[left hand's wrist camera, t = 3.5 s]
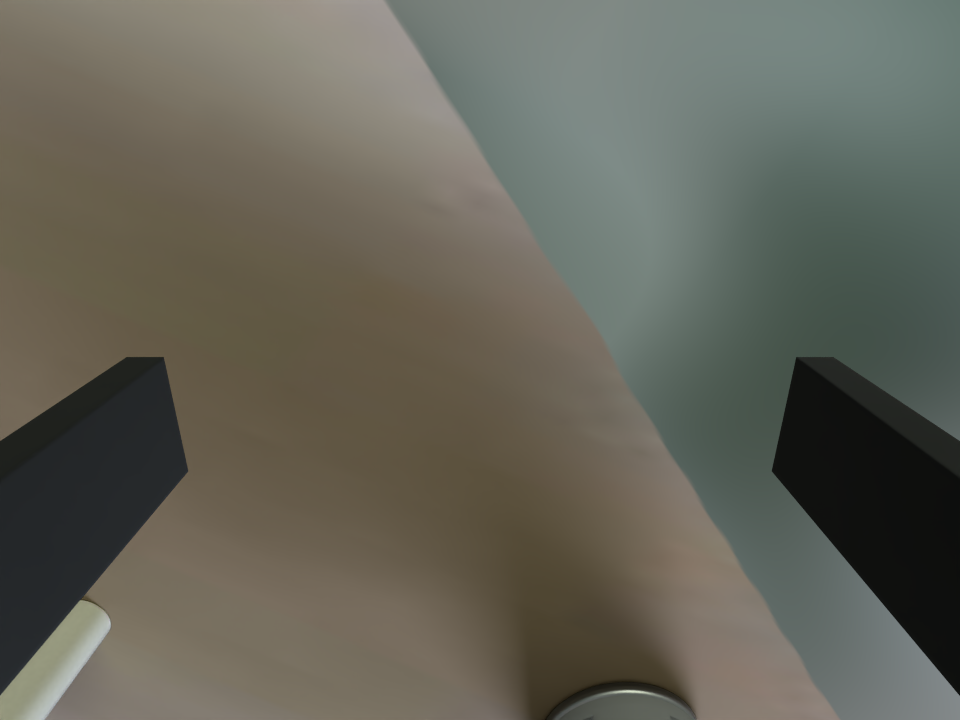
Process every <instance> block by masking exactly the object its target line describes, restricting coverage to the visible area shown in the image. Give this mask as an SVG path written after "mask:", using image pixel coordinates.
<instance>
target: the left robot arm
mask: <svg viewBox="0 0 960 720" xmlns="http://www.w3.org/2000/svg"><path fill="white" fill-rule="evenodd" d="M187 472H188V468H187V463H186V459H185V454H184V449H183V445H182V440H181V436H180V431H179V426H178V422H177V417H176V412H175V408H174V403H173V398H172V394H171V389H170V384H169V380H168V375H167V371H166V366H165V361H164V357H126V358H125V359H123V360H122V361H120V362H119V363H117V364H116V365H114V366H113V367H111V368H110V369H108V370H107V371H105V372H104V373H102V374H101V375H99V376H98V377H96V378H95V379H93V380H92V381H90V382H89V383H87V384H86V385H84V386H83V387H81V388H80V389H78V390H77V391H75V392H74V393H72V394H71V395H69V396H68V397H66V398H65V399H63V400H62V401H60V402H59V403H57V404H55V405H54V406H52V407H51V408H49V409H48V410H46V411H45V412H43V413H42V414H40V415H39V416H37V417H36V418H34V419H33V420H31V421H30V422H28V423H27V424H25V425H24V426H22V427H21V428H19V429H18V430H16V431H15V432H13V433H12V434H10V435H9V436H7V437H6V438H4V439H3V440H1V441H0V695H1V694H2V693H3V692H4V691H5V689H6V688H7V687H8V686H9V685H10V683H11V682H12V681H13V680H14V679H15V677H16V676H17V675H18V674H19V673H20V671H21V670H22V669H23V668H24V667H25V665H26V664H27V663H28V662H29V661H30V659H31V658H32V657H33V656H34V655H35V654H36V652H37V651H38V650H39V649H40V648H41V646H42V645H43V644H44V643H45V642H46V640H47V639H48V638H49V637H50V636H51V634H52V633H53V632H54V631H55V630H56V628H57V627H58V626H59V625H60V624H61V622H62V621H63V620H64V619H65V618H66V616H67V615H68V614H69V613H70V612H71V611H72V609H73V608H74V607H75V606H76V605H77V603H78V602H79V601H80V600H81V599H82V597H83V596H84V595H85V594H86V593H87V591H88V590H89V589H90V588H91V587H92V585H93V584H94V583H95V582H96V581H97V579H98V578H99V577H100V576H101V575H102V573H103V572H104V571H105V570H106V569H107V568H108V566H109V565H110V564H111V563H112V562H113V560H114V559H115V558H116V557H117V556H118V554H119V553H120V552H121V551H122V550H123V548H124V547H125V546H126V545H127V544H128V542H129V541H130V540H131V539H132V538H133V536H134V535H135V534H136V533H137V532H138V530H139V529H140V528H141V527H142V526H143V525H144V523H145V522H146V521H147V520H148V519H149V517H150V516H151V515H152V514H153V513H154V511H155V510H156V509H157V508H158V507H159V505H160V504H161V503H162V502H163V501H164V499H165V498H166V497H167V496H168V495H169V493H170V492H171V491H172V490H173V489H174V488H175V486H176V485H177V484H178V483H179V482H180V480H181V479H182V478H183V477H184V476H185V474H186V473H187ZM772 472H773V473H774V474H775V476H776V477H777V478H778V479H779V480H780V481H781V483H782V484H783V485H784V486H785V487H786V489H787V490H788V491H789V492H790V493H791V495H792V496H793V497H794V498H795V499H796V501H797V502H798V503H799V504H800V505H801V507H802V508H803V509H804V510H805V511H806V513H807V514H808V515H809V516H810V517H811V519H812V520H813V521H814V522H815V523H816V525H817V526H818V527H819V528H820V529H821V530H822V532H823V533H824V534H825V535H826V536H827V538H828V539H829V540H830V541H831V542H832V544H833V545H834V546H835V547H836V548H837V550H838V551H839V552H840V553H841V554H842V556H843V557H844V558H845V559H846V560H847V562H848V563H849V564H850V565H851V566H852V568H853V569H854V570H855V571H856V572H857V573H858V575H859V576H860V577H861V578H862V579H863V581H864V582H865V583H866V584H867V585H868V587H869V588H870V589H871V590H872V591H873V593H874V594H875V595H876V596H877V597H878V599H879V600H880V601H881V602H882V603H883V605H884V606H885V607H886V608H887V609H888V610H889V612H890V613H891V614H892V615H893V616H894V618H895V619H896V620H897V621H898V622H899V624H900V625H901V626H902V627H903V628H904V629H905V631H906V632H907V633H908V634H909V636H910V637H911V638H912V639H913V640H914V641H915V643H916V644H917V645H918V646H919V648H920V649H921V650H922V651H923V652H924V653H925V655H926V656H927V657H928V658H929V659H930V661H931V662H932V663H933V664H934V665H935V667H936V668H937V669H938V670H939V671H940V673H941V674H942V675H943V676H944V677H945V679H946V680H947V681H948V682H949V683H950V685H951V686H952V687H953V688H954V689H955V691H956V692H957V693H958V694H959V695H960V441H959V440H957V439H956V438H954V437H953V436H951V435H950V434H948V433H947V432H945V431H944V430H942V429H941V428H939V427H938V426H936V425H935V424H933V423H932V422H930V421H929V420H927V419H926V418H924V417H923V416H921V415H920V414H918V413H917V412H915V411H914V410H912V409H911V408H909V407H908V406H906V405H904V404H903V403H901V402H900V401H898V400H897V399H895V398H894V397H892V396H891V395H889V394H888V393H886V392H885V391H883V390H882V389H880V388H879V387H877V386H876V385H874V384H873V383H871V382H870V381H868V380H867V379H865V378H864V377H862V376H861V375H859V374H858V373H856V372H855V371H853V370H852V369H850V368H849V367H847V366H846V365H844V364H843V363H841V362H840V361H838V360H837V359H835V358H834V357H796V361H795V366H794V371H793V375H792V380H791V384H790V389H789V394H788V398H787V403H786V408H785V412H784V417H783V422H782V426H781V431H780V436H779V440H778V445H777V449H776V454H775V459H774V463H773V468H772ZM546 720H697V719H696V717H695V715H694V713H693V711H692V710H691V708H690V707H689V706H688V705H687V704H686V703H685V702H684V701H683V700H682V699H681V698H679V697H678V696H676V695H675V694H673V693H671V692H669V691H667V690H665V689H662V688H659V687H656V686H653V685H648V684H643V683H634V682H618V683H609V684H603V685H599V686H595V687H592V688H589V689H586V690H583V691H581V692H579V693H577V694H575V695H573V696H571V697H569V698H568V699H566V700H565V701H563V702H562V703H561V704H559V705H558V706H557V707H556V708H555V709H554V710H553V711H552V712H551V713H550V715H549V716H548V717H547V719H546Z"/></svg>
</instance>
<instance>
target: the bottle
mask: <svg viewBox="0 0 960 720" xmlns="http://www.w3.org/2000/svg"><path fill="white" fill-rule="evenodd" d="M110 627H111V622H110V619H109V617H108V615H107V614H106V612H105V611H104V610H103V609H102V608H100V607H99V606H97V605H95V604H93V603H91V602H88V601H84V600H80V601H79V602H78V603H77V605H76V606H75V607H74V608H73V609H72V611H71V612H70V613H69V614H68V615H67V616H66V618H65V619H64V620H63V621H62V622H61V624H60V625H59V626H58V627H57V628H56V630H55V631H54V632H53V633H52V634H51V636H50V637H49V638H48V639H47V640H46V642H45V643H44V644H43V645H42V646H41V648H40V649H39V650H38V651H37V652H36V654H35V655H34V656H33V657H32V658H31V659H30V661H29V662H28V663H27V664H26V665H25V667H24V668H23V669H22V670H21V671H20V673H19V674H18V675H17V676H16V677H15V679H14V680H13V681H12V682H11V683H10V685H9V686H8V687H7V688H6V689H5V691H4V692H3V693H2V694H1V695H0V720H45V719H46V718H47V716H48V715H49V713H50V712H51V711H52V709H53V708H54V707H55V705H56V704H57V702H58V701H59V700H60V698H61V697H62V696H63V694H64V693H65V691H66V690H67V689H68V687H69V686H70V685H71V683H72V682H73V681H74V679H75V678H76V676H77V675H78V674H79V672H80V671H81V670H82V668H83V667H84V665H85V664H86V663H87V661H88V660H89V659H90V657H91V656H92V654H93V653H94V652H95V650H96V649H97V648H98V646H99V645H100V643H101V642H102V641H103V639H104V638H105V637H106V635H107V634H108V632H109V631H110Z"/></svg>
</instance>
